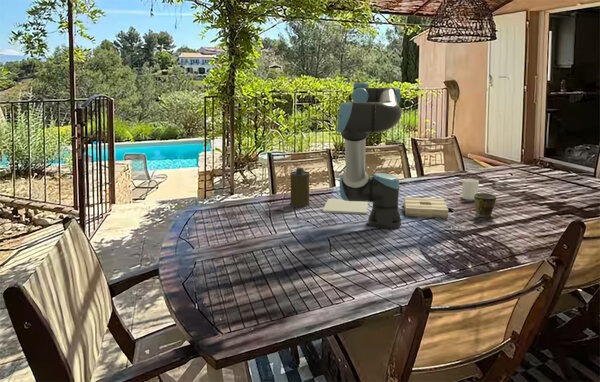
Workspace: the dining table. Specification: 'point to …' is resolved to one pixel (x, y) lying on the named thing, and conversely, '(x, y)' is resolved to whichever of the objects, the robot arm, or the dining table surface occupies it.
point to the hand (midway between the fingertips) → (359, 160)
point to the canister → (299, 188)
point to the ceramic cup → (484, 204)
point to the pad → (345, 206)
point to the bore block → (425, 207)
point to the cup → (469, 188)
